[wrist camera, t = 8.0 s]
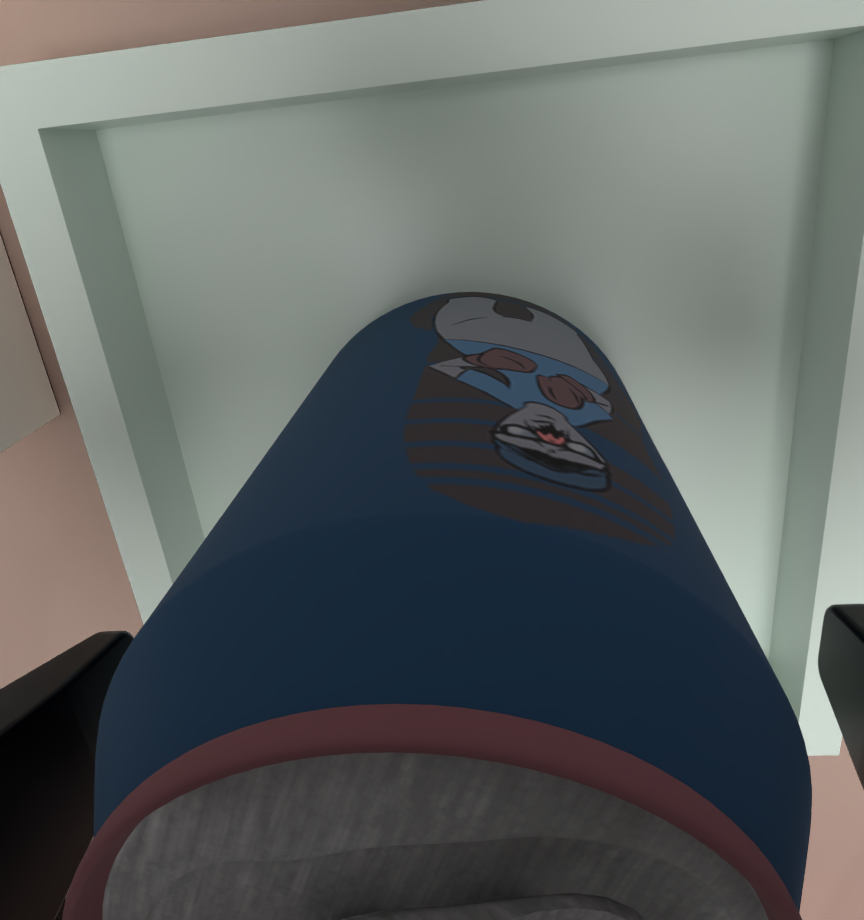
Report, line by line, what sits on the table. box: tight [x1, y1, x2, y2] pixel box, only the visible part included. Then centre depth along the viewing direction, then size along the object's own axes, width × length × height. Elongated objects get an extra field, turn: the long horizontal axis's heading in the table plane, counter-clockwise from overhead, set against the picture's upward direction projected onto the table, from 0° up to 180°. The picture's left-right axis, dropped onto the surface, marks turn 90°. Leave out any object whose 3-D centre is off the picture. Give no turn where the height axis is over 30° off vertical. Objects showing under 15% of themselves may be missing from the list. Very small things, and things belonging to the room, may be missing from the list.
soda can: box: [62, 292, 812, 920], centre depth 11 cm, size 7×7×12 cm
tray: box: [0, 0, 864, 756], centre depth 16 cm, size 16×16×2 cm
